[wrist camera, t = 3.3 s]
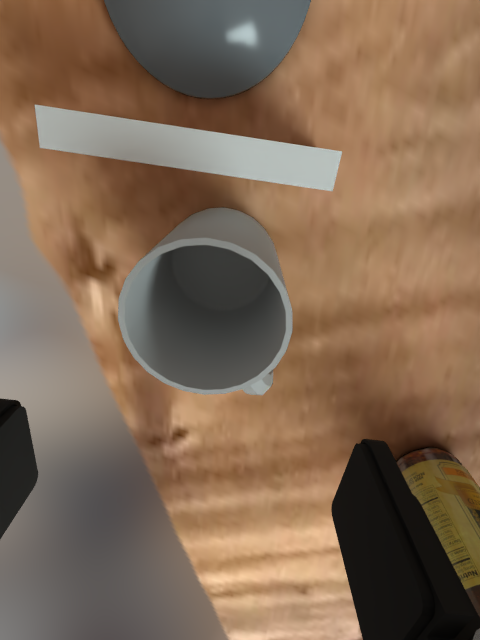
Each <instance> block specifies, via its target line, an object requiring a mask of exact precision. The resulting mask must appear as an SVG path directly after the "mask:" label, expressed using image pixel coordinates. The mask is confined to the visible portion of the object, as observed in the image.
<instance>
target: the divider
mask: <svg viewBox="0 0 480 640" xmlns="http://www.w3.org/2000/svg"><path fill="white" fill-rule="evenodd" d="M35 111H36V120H37V128H38V136H39V144H40V148H45V149H52V150H58V151H65V152H72V153H78V154H85V155H92V156H99V157H105V158H112V159H119V160H126V161H132V162H139V163H146V164H152V165H159V166H166V167H173V168H179V169H186V170H193V171H199V172H206V173H213V174H220V175H226V176H233V177H240V178H247V179H253V180H260V181H267V182H273V183H280V184H287V185H294V186H300V187H307V188H314V189H320V190H327V191H333V187H334V183H335V179H336V175H337V171H338V167H339V163H340V158H341V154H342V151H335V150H329V149H322V148H315V147H309V146H302V145H296V144H289V143H283V142H276V141H270V140H263V139H257V138H250V137H244V136H237V135H231V134H224V133H217V132H211V131H204V130H198V129H191V128H185V127H178V126H172V125H165V124H159V123H152V122H146V121H139V120H133V119H126V118H119V117H113V116H106V115H100V114H93V113H87V112H80V111H74V110H67V109H61V108H54V107H48V106H41V105H35Z"/></svg>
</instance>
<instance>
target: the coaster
mask: <svg viewBox="0 0 480 640" xmlns="http://www.w3.org/2000/svg"><path fill="white" fill-rule="evenodd" d="M104 2H105V5H106V7H107V10H108V13H109V15H110V18H111V20H112V22H113V24H114V26H115V28H116V30H117V32H118V34H119V36H120V37H121V39H122V41H123V42H124V44H125V45H126V47H127V48H128V50H129V51H130V52H131V54H132V55H133V56H134V57H135V59H136V60H137V61H138V62H139V63H140V64H141V65H142V66H143V67H144V68H145V69H146V70H147V71H148V72H149V73H150V74H151V75H152V76H154V77H155V78H156V79H158V80H159V81H160V82H162V83H163V84H164V85H166V86H168V87H170V88H171V89H173V90H175V91H177V92H180V93H182V94H185V95H188V96H192V97H196V98H203V99H219V98H226V97H230V96H234V95H237V94H240V93H242V92H245V91H247V90H249V89H250V88H252V87H254V86H255V85H257V84H259V83H260V82H261V81H262V80H264V79H265V78H266V77H267V76H269V75H270V74H271V73H272V72H273V71H274V70H275V69H276V67H277V66H278V65H279V64H280V63H281V62H282V60H283V59H284V58H285V56H286V55H287V54H288V52H289V50H290V49H291V47H292V45H293V44H294V42H295V40H296V38H297V36H298V34H299V32H300V29H301V27H302V25H303V23H304V20H305V17H306V14H307V11H308V8H309V5H310V2H311V0H104Z"/></svg>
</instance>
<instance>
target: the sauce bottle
mask: <svg viewBox="0 0 480 640" xmlns="http://www.w3.org/2000/svg"><path fill="white" fill-rule="evenodd" d="M396 463H397V465H398V467H399V468H400V470H401V472H402V474H403V476H404V478H405V480H406V482H407V484H408V486H409V488H410V490H411V492H412V494H413V495H414V496H416V497H417V499H418V500H419V502H420V503H421V505H422V507H423V509H424V511H425V513H426V515H427V517H428V519H429V521H430V523H431V525H432V526H433V528H434V530H435V532H436V534H437V536H438V538H439V540H440V542H441V544H442V546H443V548H444V550H445V552H446V553H447V555H448V557H449V559H450V561H451V563H452V565H453V567H454V569H455V571H456V573H457V575H458V577H459V579H460V580H461V582H462V584H463V586H464V588H465V590H466V592H467V594H468V596H469V598H470V600H471V602H472V604H473V606H474V607H475V609H476V611H477V613H478V615H479V617H480V488H479V486H478V485H477V483H476V482H475V480H474V479H473V477H472V476H471V475H470V473H469V472H468V470H467V469H466V468H465V467H463V466H462V464H461V463H460V462H459V460H458V459H457V458H456V457H454V456H453V455H452V454H450V453H448V452H446V451H442V450H440V449H437V448H426V449H423V450H417V451H413V452H410V453H409V454H406V455H404V456H403V457H401V458H400V459H399V460H398V461H397V462H396Z"/></svg>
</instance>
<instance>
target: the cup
mask: <svg viewBox="0 0 480 640" xmlns="http://www.w3.org/2000/svg"><path fill="white" fill-rule="evenodd" d="M118 321H119V325H120V329H121V332H122V336H123V340H124V341H125V343H126V345H127V347H128V348H129V350H130V352H131V354H132V355H133V357H134V358H135V359H136V360H137V361H138V362H139V363H140V364H141V365H142V367H143V368H144V369H145V370H146V371H147V372H148V373H150V374H151V375H153V376H154V377H156V378H157V379H159V380H160V381H162V382H163V383H165V384H168V385H170V386H173V387H175V388H178V389H180V390H183V391H187V392H193V393H199V394H225V393H229V392H233V391H237V390H241V389H242V390H243V391H244V392H245V393H247V394H251V395H263V394H264V393H265V392H266V391H267V390H268V389H269V388H270V387H271V385H272V384H273V369H274V368H275V367H276V366H277V364H278V363H279V361H280V359H281V358H282V356H283V355H284V353H285V352H286V350H287V347H288V344H289V340H290V337H291V334H292V308H291V304H290V300H289V297H288V293H287V289H286V286H285V282H284V278H283V275H282V271H281V268H280V264H279V260H278V257H277V253H276V250H275V247H274V243H273V241H272V240H271V238H270V237H269V235H268V233H267V232H266V230H265V229H264V227H262V226H261V225H260V224H259V223H258V222H257V221H256V220H255V219H254V218H253V217H251V216H249V215H247V214H245V213H243V212H241V211H239V210H234V209H229V208H224V207H222V208H208V209H206V210H203V211H200V212H197V213H194V214H192V215H191V216H189V217H188V218H187V219H185V220H184V221H183V222H181V223H180V224H179V225H178V226H176V227H175V228H174V229H173V230H172V231H171V232H170V233H169V234H168V235H167V236H166V237H165V238H163V239H162V240H161V241H160V242H159V243H158V244H157V245H156V246H155V247H154V248H153V249H152V250H150V251H149V252H148V253H147V254H146V255H145V256H144V257H143V258H142V259H141V260H140V261H139V262H138V263H137V264H136V266H135V267H134V268H133V270H132V271H131V272H130V274H129V275H128V276H127V278H126V279H125V282H124V285H123V288H122V291H121V294H120V297H119V307H118Z"/></svg>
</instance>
